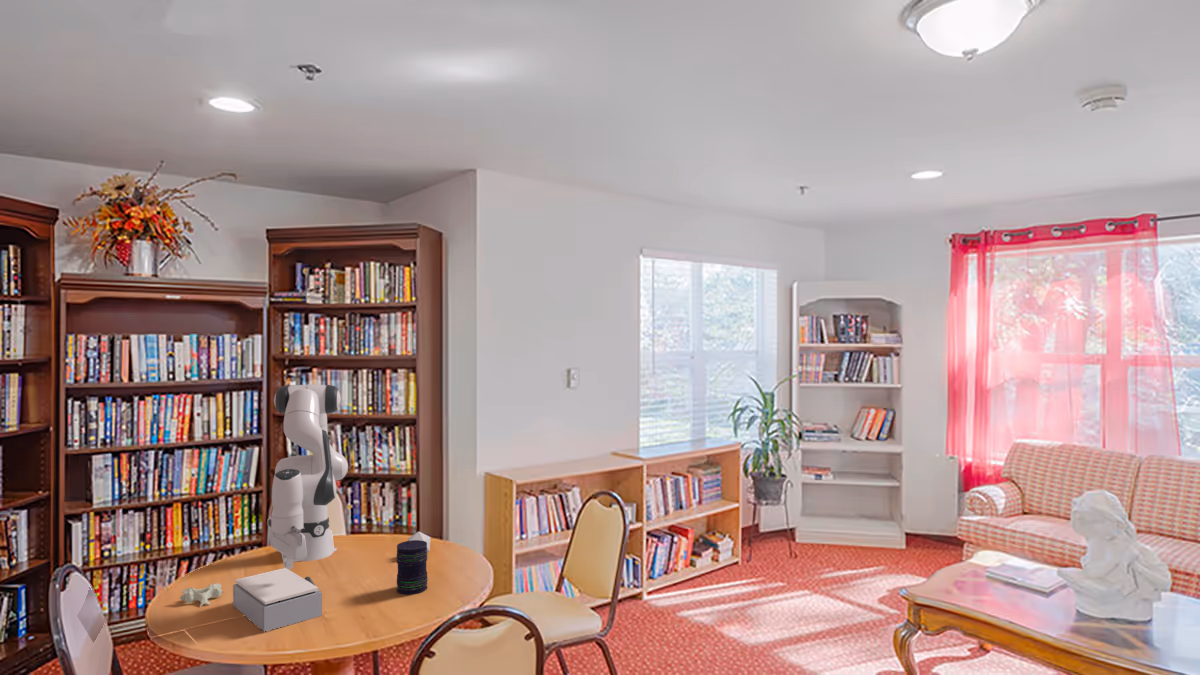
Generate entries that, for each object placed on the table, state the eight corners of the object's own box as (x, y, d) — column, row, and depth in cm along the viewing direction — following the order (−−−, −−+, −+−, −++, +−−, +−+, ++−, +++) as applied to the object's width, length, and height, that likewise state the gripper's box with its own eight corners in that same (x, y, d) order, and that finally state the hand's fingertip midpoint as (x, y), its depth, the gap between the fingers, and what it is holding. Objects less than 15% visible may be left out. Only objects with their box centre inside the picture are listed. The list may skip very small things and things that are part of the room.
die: (435, 556, 259) (435, 530, 259) (417, 562, 251) (417, 535, 251) (419, 552, 263) (419, 526, 263) (401, 559, 256) (401, 532, 256)
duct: (233, 607, 210) (233, 584, 210) (287, 592, 222) (287, 571, 222) (264, 632, 192) (264, 608, 192) (321, 615, 203) (321, 592, 203)
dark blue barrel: (433, 589, 224) (433, 544, 224) (406, 597, 217) (406, 551, 217) (417, 582, 231) (417, 538, 231) (391, 589, 224) (390, 544, 224)
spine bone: (182, 616, 207) (183, 602, 206) (178, 599, 214) (179, 585, 214) (226, 608, 214) (227, 594, 213) (221, 591, 222) (222, 578, 221)
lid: (235, 582, 211) (235, 579, 211) (285, 570, 222) (285, 567, 222) (265, 604, 193) (265, 601, 193) (318, 590, 204) (318, 587, 204)
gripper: (312, 528, 203) (312, 574, 204) (285, 514, 218) (286, 557, 218) (290, 533, 199) (290, 579, 199) (265, 518, 213) (265, 562, 214)
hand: (288, 567), depth 209 cm, fingers closed
